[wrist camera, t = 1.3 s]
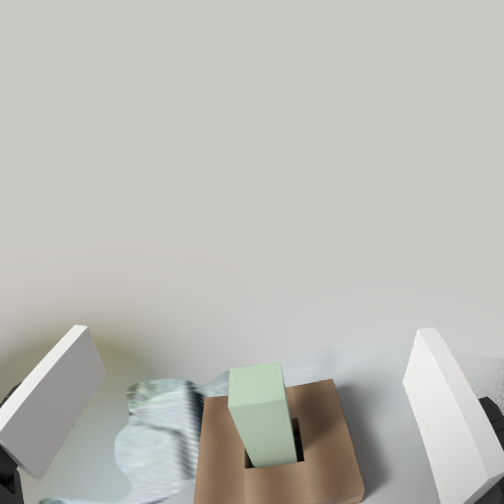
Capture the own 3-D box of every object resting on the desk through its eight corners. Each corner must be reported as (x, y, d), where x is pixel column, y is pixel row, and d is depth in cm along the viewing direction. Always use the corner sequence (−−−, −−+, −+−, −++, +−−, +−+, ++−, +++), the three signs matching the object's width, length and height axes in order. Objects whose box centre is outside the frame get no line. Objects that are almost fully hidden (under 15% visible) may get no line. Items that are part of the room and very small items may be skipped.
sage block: (294, 441, 31) (280, 361, 26) (299, 471, 27) (285, 399, 21) (257, 446, 31) (229, 369, 26) (258, 477, 27) (227, 406, 22)
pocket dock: (332, 398, 36) (332, 378, 34) (361, 502, 21) (365, 490, 20) (213, 415, 37) (205, 397, 35) (205, 521, 22) (193, 510, 20)
